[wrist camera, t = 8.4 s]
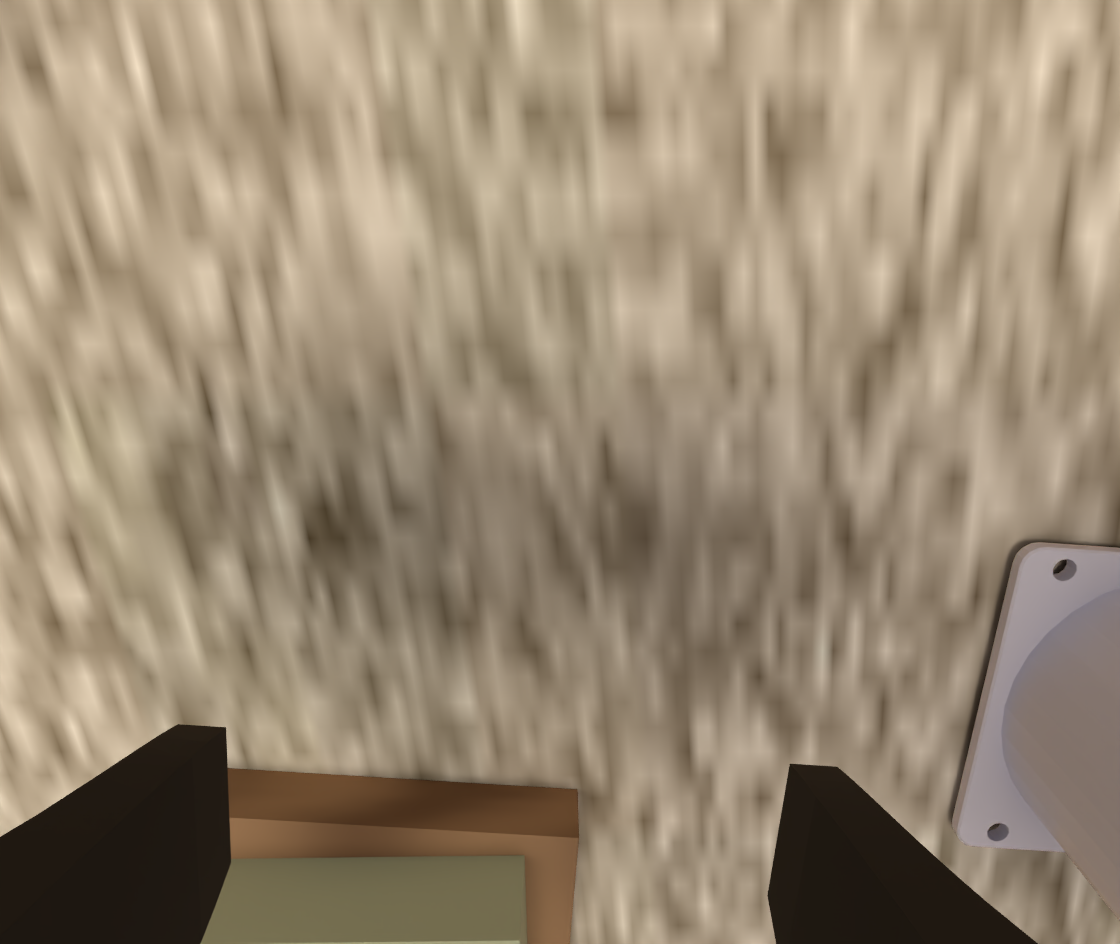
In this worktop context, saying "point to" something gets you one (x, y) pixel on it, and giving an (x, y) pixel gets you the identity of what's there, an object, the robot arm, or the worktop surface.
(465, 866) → the sage top block
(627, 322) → the worktop surface
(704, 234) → the worktop surface
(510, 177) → the worktop surface
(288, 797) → the walnut base block
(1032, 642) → the robot arm
